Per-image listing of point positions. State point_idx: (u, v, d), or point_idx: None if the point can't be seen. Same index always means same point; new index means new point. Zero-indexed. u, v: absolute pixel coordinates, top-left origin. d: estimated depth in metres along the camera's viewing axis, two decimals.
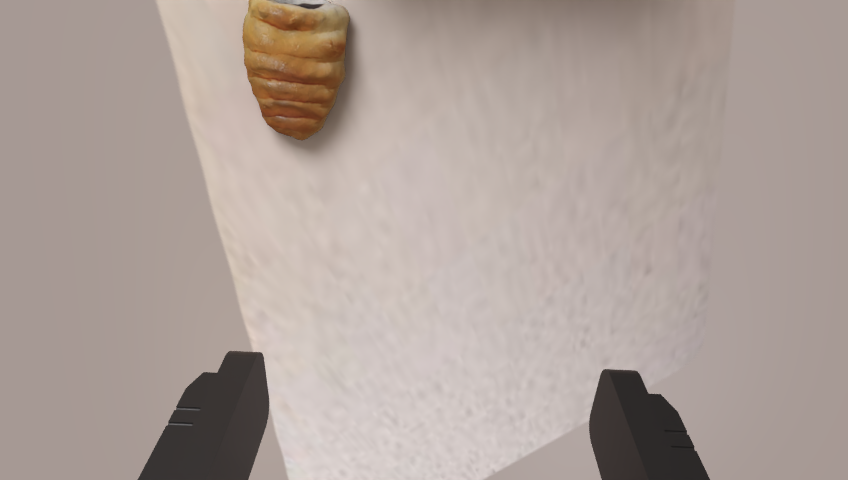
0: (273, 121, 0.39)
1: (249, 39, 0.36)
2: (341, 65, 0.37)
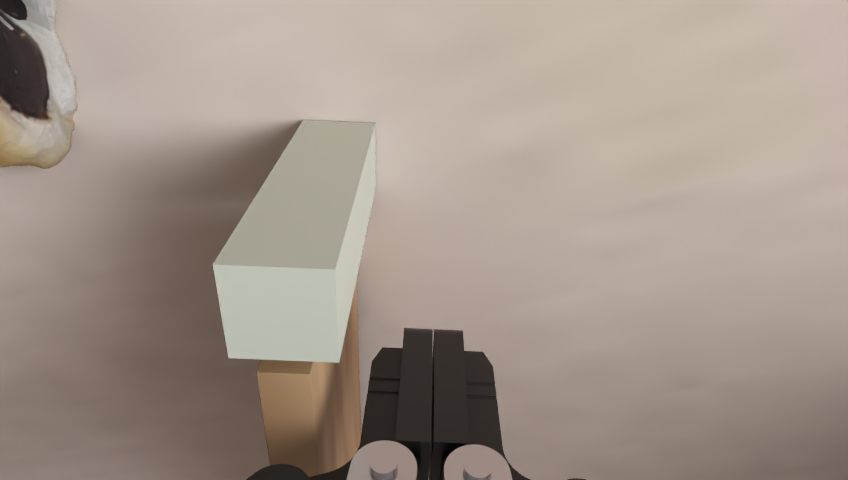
0: None
1: None
2: None
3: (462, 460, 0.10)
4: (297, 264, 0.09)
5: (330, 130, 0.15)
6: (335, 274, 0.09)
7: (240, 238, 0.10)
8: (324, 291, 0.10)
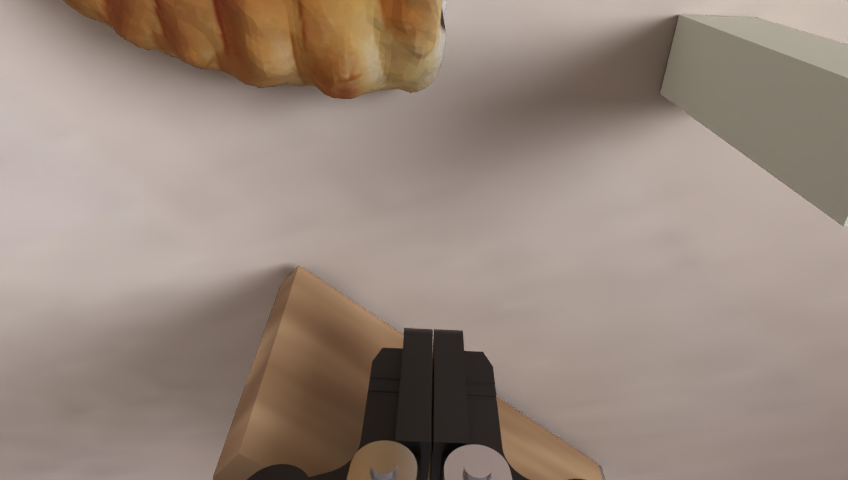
0: None
1: None
2: (291, 83, 0.13)
3: (462, 460, 0.10)
4: None
5: (728, 21, 0.14)
6: None
7: None
8: None
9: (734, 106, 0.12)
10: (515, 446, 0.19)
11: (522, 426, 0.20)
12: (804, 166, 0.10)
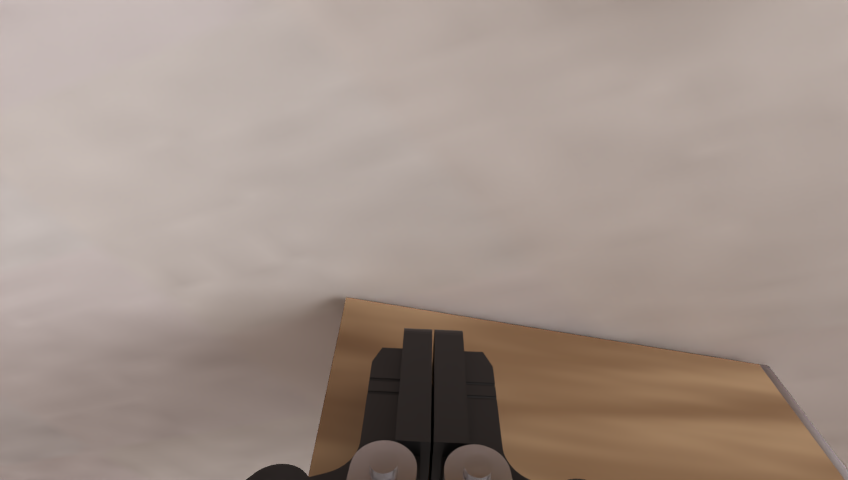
0: None
1: None
2: None
3: (462, 460, 0.10)
4: None
5: None
6: None
7: None
8: None
9: None
10: (637, 382, 0.17)
11: (643, 358, 0.18)
12: None
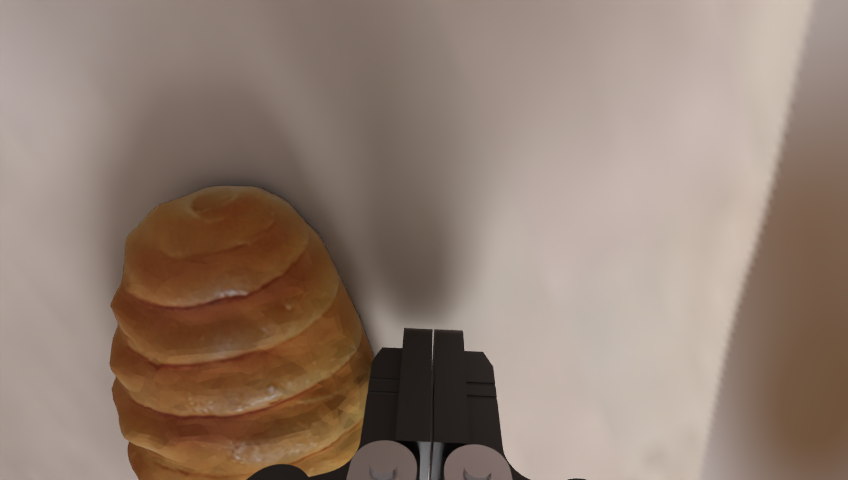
0: (255, 269, 0.12)
1: (347, 455, 0.14)
2: None
3: (462, 460, 0.10)
4: None
5: None
6: None
7: None
8: None
9: None
10: None
11: None
12: None
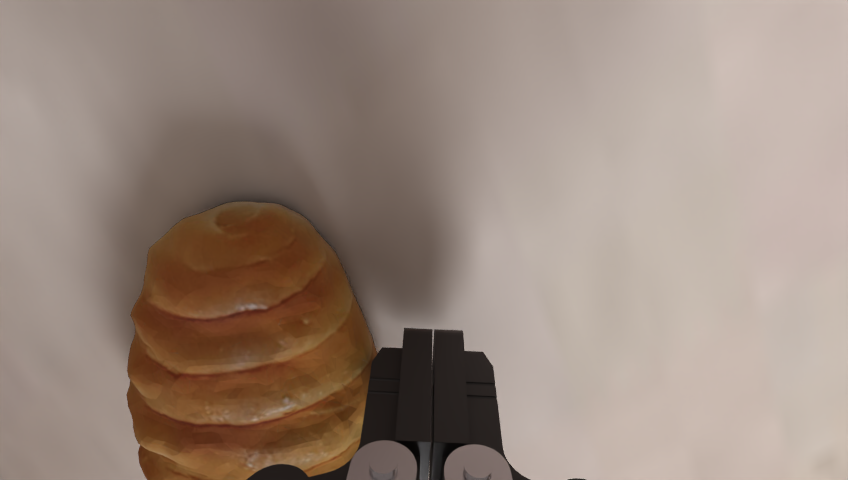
0: (275, 284, 0.13)
1: None
2: None
3: (462, 460, 0.10)
4: None
5: None
6: None
7: None
8: None
9: None
10: None
11: None
12: None
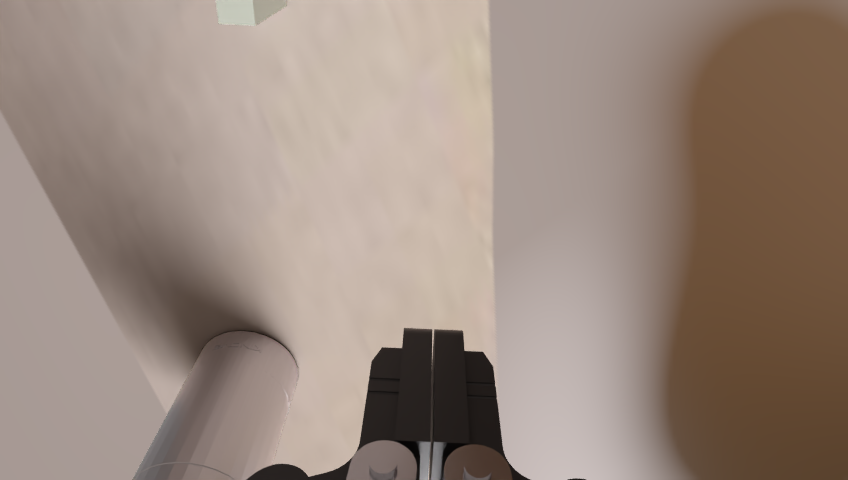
0: None
1: None
2: None
3: (462, 460, 0.10)
4: (254, 13, 0.31)
5: None
6: (253, 25, 0.31)
7: None
8: (246, 21, 0.31)
9: None
10: None
11: None
12: None
